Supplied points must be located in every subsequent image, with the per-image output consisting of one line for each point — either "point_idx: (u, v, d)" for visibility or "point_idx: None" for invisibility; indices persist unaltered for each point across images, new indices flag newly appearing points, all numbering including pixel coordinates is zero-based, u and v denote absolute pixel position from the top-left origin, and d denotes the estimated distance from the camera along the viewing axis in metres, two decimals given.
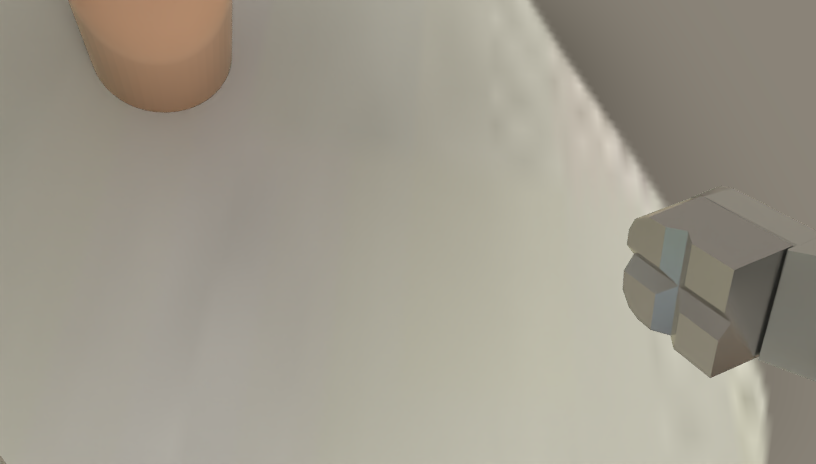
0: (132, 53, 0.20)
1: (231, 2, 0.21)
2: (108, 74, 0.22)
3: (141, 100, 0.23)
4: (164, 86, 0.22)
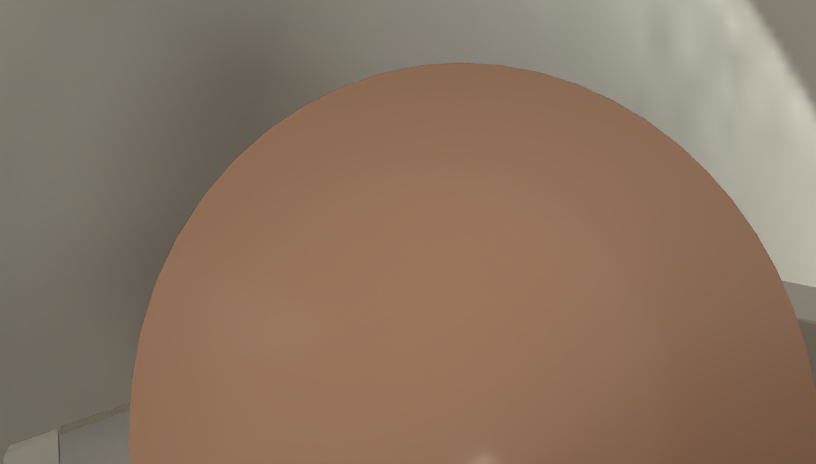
0: None
1: None
2: None
3: None
4: None
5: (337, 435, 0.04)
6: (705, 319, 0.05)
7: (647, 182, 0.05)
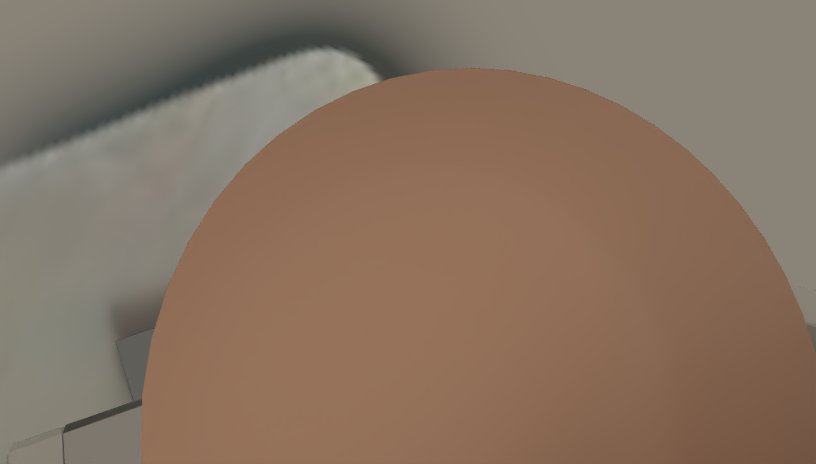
0: None
1: None
2: None
3: None
4: None
5: (350, 440, 0.04)
6: (716, 325, 0.05)
7: (657, 187, 0.05)
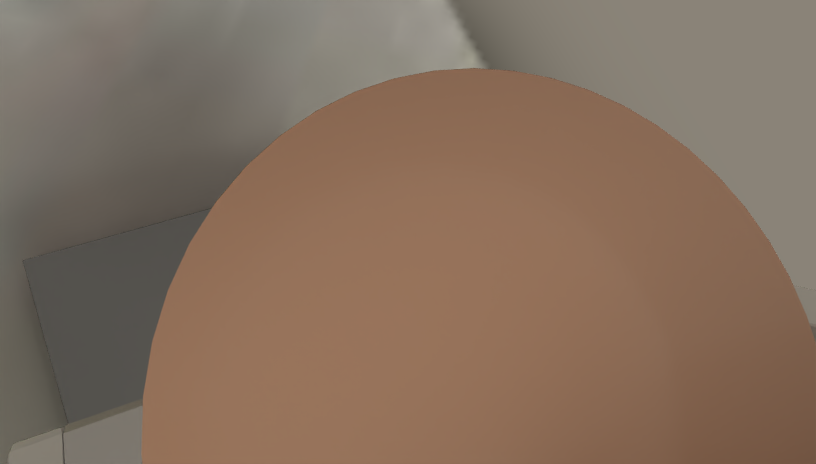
0: None
1: None
2: None
3: None
4: None
5: (351, 444, 0.04)
6: (720, 327, 0.05)
7: (660, 188, 0.05)
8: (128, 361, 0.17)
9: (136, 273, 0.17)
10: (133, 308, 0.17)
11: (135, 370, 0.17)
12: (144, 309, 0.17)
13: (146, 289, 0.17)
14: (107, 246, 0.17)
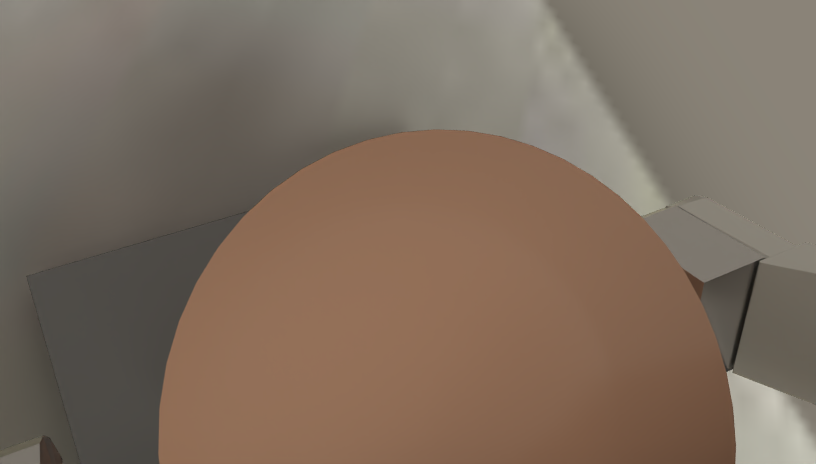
0: None
1: None
2: None
3: None
4: None
5: (328, 445, 0.05)
6: (640, 347, 0.06)
7: (593, 230, 0.06)
8: (160, 401, 0.13)
9: (168, 290, 0.14)
10: (165, 334, 0.14)
11: None
12: None
13: (181, 310, 0.14)
14: (131, 257, 0.14)
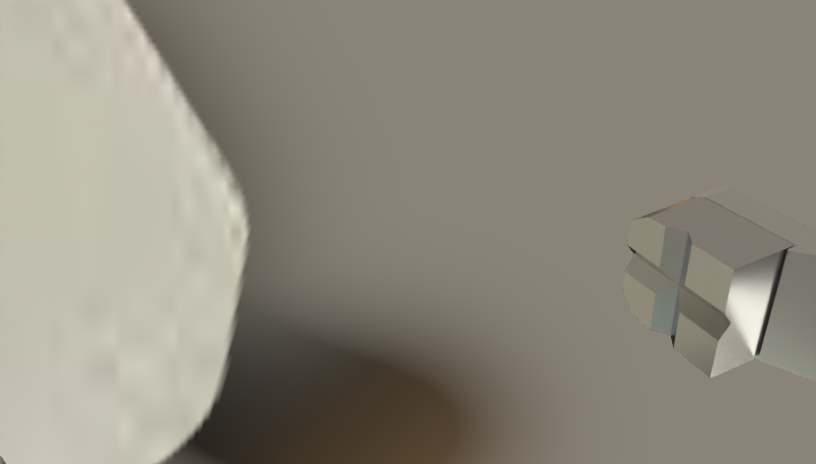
0: None
1: None
2: None
3: None
4: None
5: None
6: None
7: None
8: None
9: None
10: None
11: None
12: None
13: None
14: None
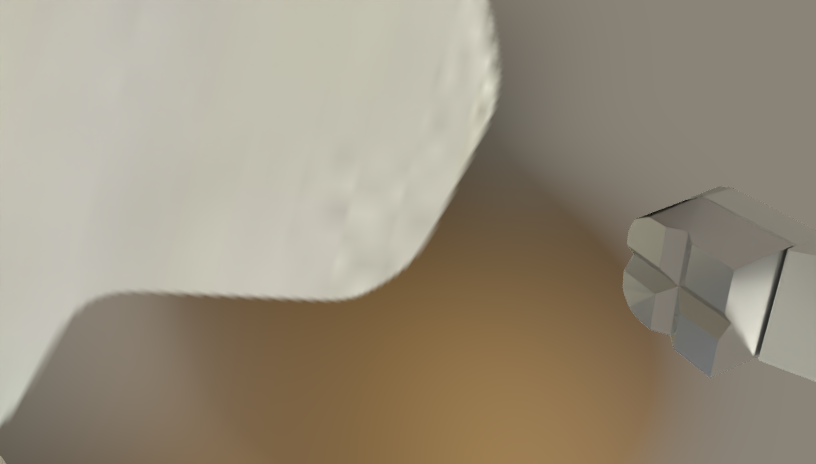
0: None
1: None
2: None
3: None
4: None
5: None
6: None
7: None
8: None
9: None
10: None
11: None
12: None
13: None
14: None
